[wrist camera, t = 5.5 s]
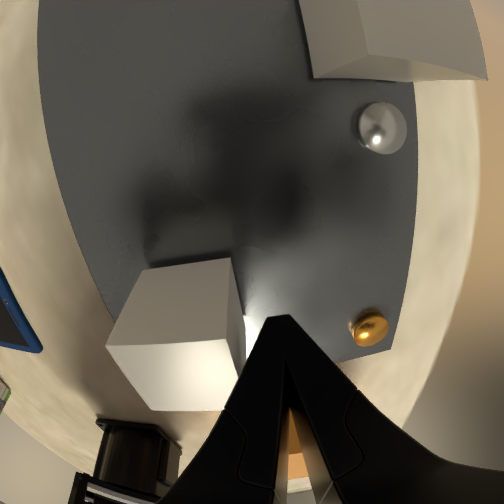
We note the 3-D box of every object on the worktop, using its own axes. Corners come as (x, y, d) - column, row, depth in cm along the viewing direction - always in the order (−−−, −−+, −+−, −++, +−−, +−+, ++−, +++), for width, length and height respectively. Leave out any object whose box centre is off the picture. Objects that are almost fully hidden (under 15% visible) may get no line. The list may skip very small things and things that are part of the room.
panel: (157, 353, 14) (148, 387, 12) (66, -22, 5) (39, -36, 2) (376, 323, 13) (393, 354, 11) (341, -71, 4) (359, -96, 2)
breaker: (313, 78, 6) (368, 54, 3) (296, -11, 5) (329, -74, 2) (405, 82, 6) (487, 80, 3) (389, -1, 5) (455, -35, 2)
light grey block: (169, 335, 10) (151, 410, 7) (142, 270, 9) (105, 345, 6) (245, 327, 10) (248, 408, 7) (230, 257, 9) (225, 338, 6)
